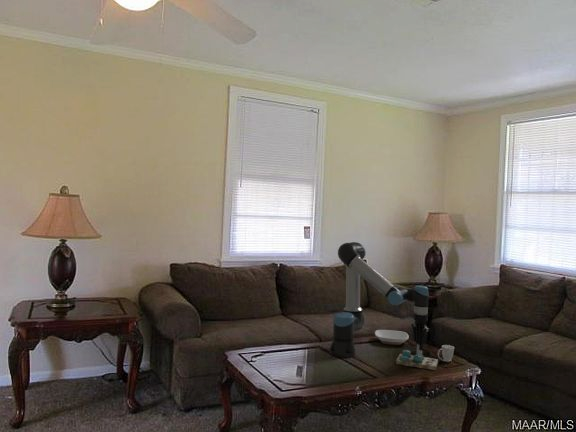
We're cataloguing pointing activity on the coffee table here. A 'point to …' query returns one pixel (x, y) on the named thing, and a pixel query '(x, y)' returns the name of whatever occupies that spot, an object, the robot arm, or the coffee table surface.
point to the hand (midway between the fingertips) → (419, 355)
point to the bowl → (391, 337)
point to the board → (426, 363)
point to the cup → (447, 352)
